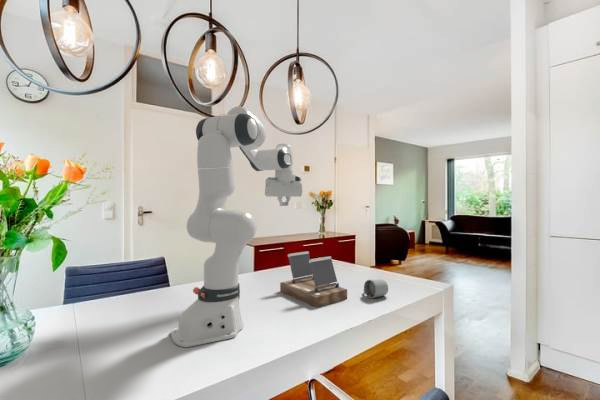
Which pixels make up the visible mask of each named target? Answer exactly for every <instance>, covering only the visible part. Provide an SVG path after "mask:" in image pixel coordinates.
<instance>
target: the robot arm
mask: <svg viewBox="0 0 600 400" xmlns="http://www.w3.org/2000/svg"><path fill="white" fill-rule="evenodd" d="M195 135H196V140H197V141H198V143H197V153H196V155H197V156H196V164H197V176H198V189H199V193H198V200H197V204H196V207H195V209H194V210H193V212H192V213H191V214H190V215H189V217H188V219H187V222H186V230H187V233H188V235H189V237H191V238H192V239H194V240H197V241H200V242H202V243H210V244H211V243H213V244H215V247H214V251H213V253H212V255H210V256H209V257H207V259H206V260H205V261H204V263H203V286H201V288H199V287H198V286H195V287H193V289H192V292H193V293H194V294H195V295H197V299H196V300H195V301H193V302H192V304H190V305H189V306H188V307H187V308H186V309H185V310H184V311H183V312H182V313H181V314H180V315H179V320H178V326H177V327H174V328H172V330H171V331H170V338H171V340H172V342H173V343H174V344H175V345H177V346H179V347H182V348H190V347H194V346H200V345H204V344H209V343H215V342H219V341H223V340H228V339H233V338H236V337H237V336H238V333H239V332H240V331H241V330H242V329H243V328H244V322H243V318H242V315H241V307H240V296H241V290H240V288H241V287H240V283H239V263H240V258H241V255H242V252H243V250H244V249H245V247H246V246H247V245H248V244H249V243H250V242H251V241H252V240H253V239H254V237H255V236H256V233H257V222H256V220H255V217H254V216H253V215H252V214H251V213H248V212H245V211H242V210H235V209H233V210H232V209H231V210H230V209H226V210H225V207H226V206H225V205H226V201H227V199H228V198H229V197H230V196H232V194H233V193H234V192H235V189H236V188H235V187H236V186H235V175H234V174H235V173H234V167H233V166H234V165H233V157H232V152H231V148H237V147H238V148H239V150H240V151H241V152H242V154H243V155H244V156H245V158H246V159H247V160H248V162H249V164H250V166H251V168H252V169H253V170H254V171H256V172H261V171H262V172H263V171H274V176H273V177H271V176H269V177H267V178H266V179H265V187H264V195H265V197H270V198H271V197H274V198H275V197H277V200H278V203H279V206H280V207H288V206H289V203H290V200H291V198H292V197H293V198H294V197H295V198H296V197H299V198H300V197H302V195H303V184H302V183H301V182H302V177H301V176H299V175H297V174H294V170H293V165H294V156H293V155H294V154H293V149H292V146H291V145H290V144H286V143H279V144H277V145H276V148H270V149H258V148H260V147H262V145H263V144H264V142H265V140H266V137H267V131H266V127H265V126H264V125H263V123H262V122H261V121H260V119H258V117H257V116H256V115H255V114H254V113H252V112H251V111H250V110H249V109H247V108H245V107H243V106H234V107H232V108H231V109H230V110H228V112H227V114H219V115H215V116H212V117H206V118H205V117H204V118H203V119H201V120H199V121H198V123H197V125H196V128H195ZM283 197H285V199H286V200H285V202H283Z"/></svg>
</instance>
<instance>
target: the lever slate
mask: <svg viewBox="0 0 600 400" xmlns="http://www.w3.org/2000/svg"><path fill="white" fill-rule="evenodd" d="M309 263H310V266H311V270H312V275H313V279H314V283H315V287H316V286H321V285H325V284H329V283H330V284H333V283H337V282H338V279H337V276H336V275H337V274H336V271H335V268H334V264H333V260H332V256H323V257H317V258H310V260H309ZM312 275H311V276H312Z"/></svg>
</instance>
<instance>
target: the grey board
mask: <svg viewBox="0 0 600 400" xmlns="http://www.w3.org/2000/svg"><path fill="white" fill-rule="evenodd" d="M287 257H288V261H289V267H290V271H291V276H292V279H297V278H302V277H307V276H312V270H311V266H310V263H309V260H311V258H310V252H309V251H308V250H307V251H300V252H293V253H288V254H287Z"/></svg>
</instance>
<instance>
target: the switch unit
mask: <svg viewBox="0 0 600 400" xmlns="http://www.w3.org/2000/svg"><path fill="white" fill-rule="evenodd" d="M279 285H280V292H281V293H283V294H285V295H288V296H290V297H293V298H294V299H297V300H299V301H302V302H304V303H306V304H308V305H310V306H312V307H315V308H319V307H323V306H326V305H329V304H333V303H337V302H340V301H344V300H348V289H347V288H344V287H342V286H340V284H339V281H337V282H333V283H329V284H325V285H321V286H316V287H315V283H314V279H313V275H309V276H304V277H299V278H294V279H293V278H292V279H291V280H287V281H282V282H279Z"/></svg>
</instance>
